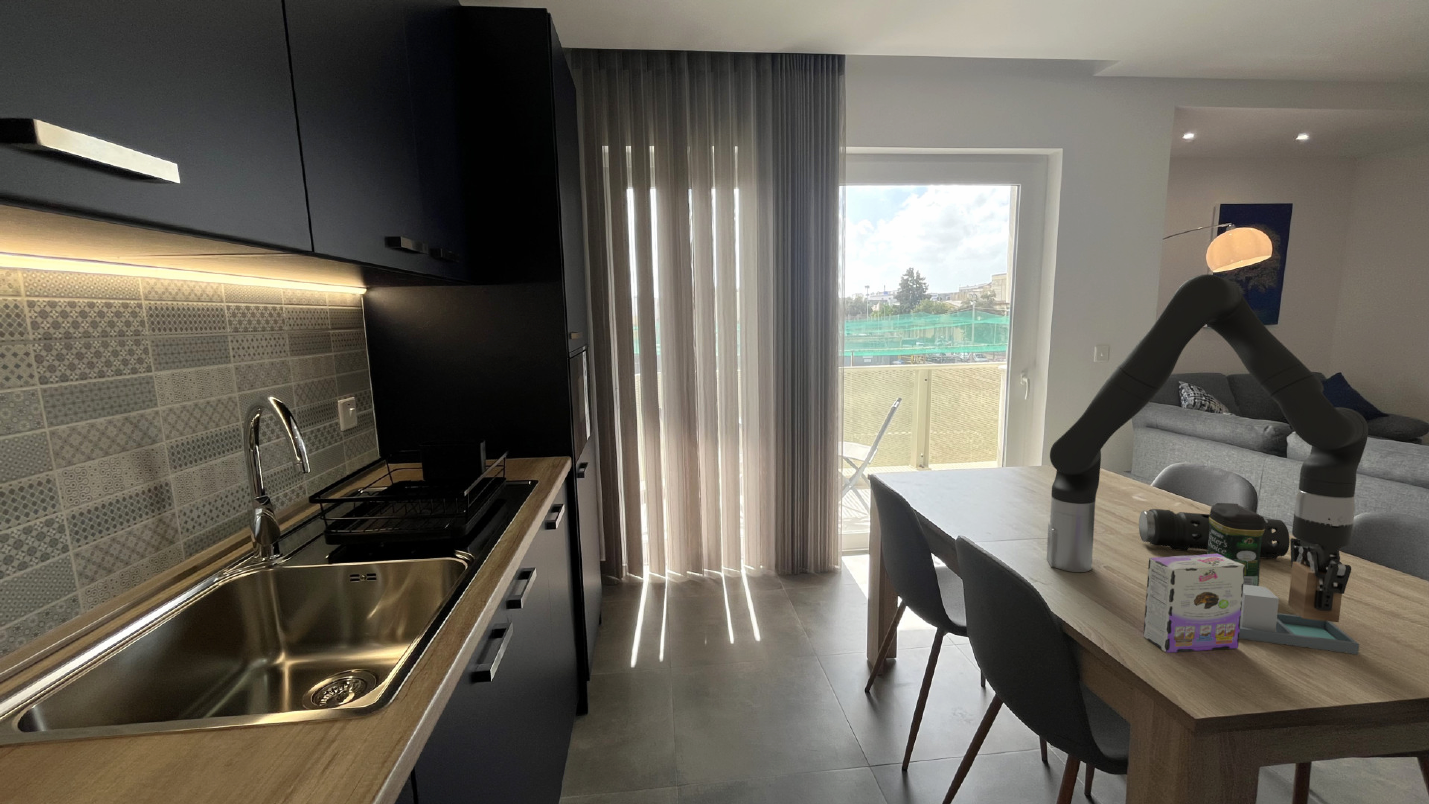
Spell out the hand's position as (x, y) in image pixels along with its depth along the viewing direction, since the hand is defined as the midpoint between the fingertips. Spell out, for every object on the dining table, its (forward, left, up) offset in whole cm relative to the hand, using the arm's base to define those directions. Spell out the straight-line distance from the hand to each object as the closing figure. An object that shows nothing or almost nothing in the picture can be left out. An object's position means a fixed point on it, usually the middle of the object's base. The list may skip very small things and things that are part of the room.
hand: (1313, 602), depth 107 cm
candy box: (-21, -9, -7) cm, 24 cm away
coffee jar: (-4, +21, -7) cm, 23 cm away
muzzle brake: (-1, +42, -7) cm, 43 cm away
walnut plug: (0, 0, -2) cm, 2 cm away
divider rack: (-4, 0, -7) cm, 8 cm away
